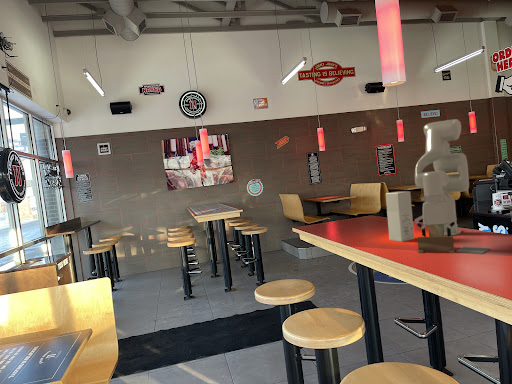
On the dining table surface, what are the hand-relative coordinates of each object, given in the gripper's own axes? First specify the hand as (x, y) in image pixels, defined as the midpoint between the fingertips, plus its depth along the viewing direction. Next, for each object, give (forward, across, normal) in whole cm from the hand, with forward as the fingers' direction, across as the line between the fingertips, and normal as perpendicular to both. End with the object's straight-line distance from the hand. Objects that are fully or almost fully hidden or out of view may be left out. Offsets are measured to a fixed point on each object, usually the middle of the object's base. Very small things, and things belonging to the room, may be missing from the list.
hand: (436, 237), depth 170 cm
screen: (+5, -1, -7) cm, 9 cm away
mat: (+5, +14, -5) cm, 15 cm away
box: (+5, 0, +1) cm, 5 cm away
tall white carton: (+5, -17, +24) cm, 29 cm away
